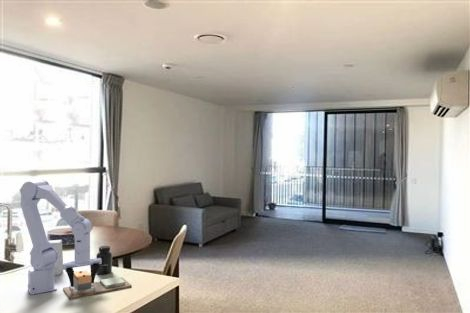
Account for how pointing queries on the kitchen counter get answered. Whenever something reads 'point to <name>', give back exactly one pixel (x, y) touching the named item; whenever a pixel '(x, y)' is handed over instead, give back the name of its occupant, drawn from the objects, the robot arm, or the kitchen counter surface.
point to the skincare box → (58, 264)
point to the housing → (82, 280)
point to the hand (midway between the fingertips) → (82, 284)
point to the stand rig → (98, 288)
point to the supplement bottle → (105, 260)
